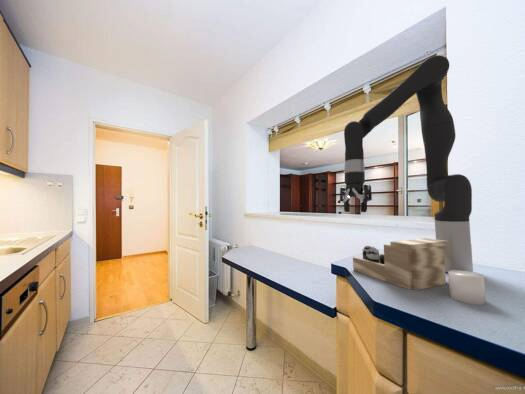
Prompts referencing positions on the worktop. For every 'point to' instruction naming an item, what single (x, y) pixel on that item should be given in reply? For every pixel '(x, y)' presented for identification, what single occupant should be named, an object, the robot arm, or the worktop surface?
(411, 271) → the wooden stepped block
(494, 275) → the worktop surface
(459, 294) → the cream rounded block
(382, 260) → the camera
